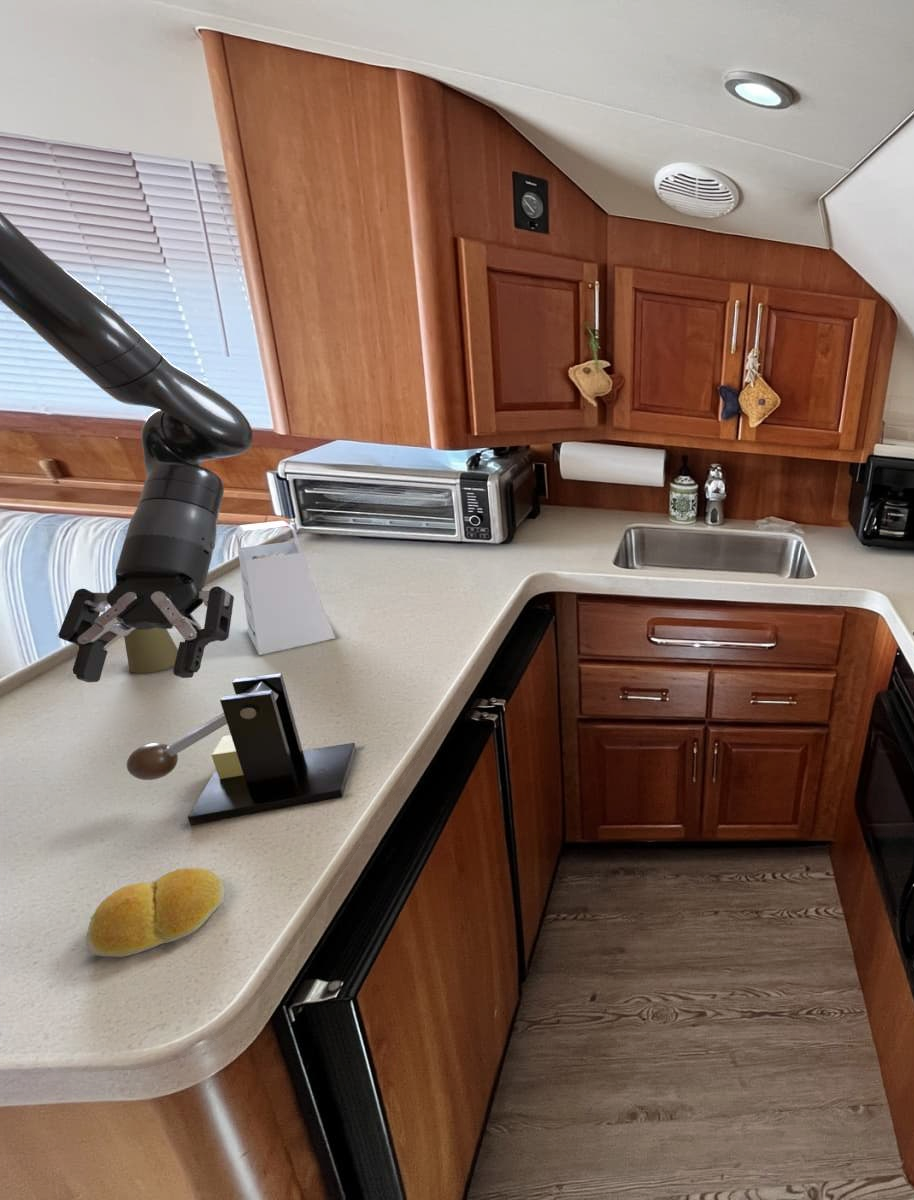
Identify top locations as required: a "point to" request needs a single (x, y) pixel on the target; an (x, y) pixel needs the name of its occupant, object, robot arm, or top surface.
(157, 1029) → the top surface
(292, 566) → the grater
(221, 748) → the butter
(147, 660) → the cork
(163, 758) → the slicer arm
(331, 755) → the slicer
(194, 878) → the bread roll
